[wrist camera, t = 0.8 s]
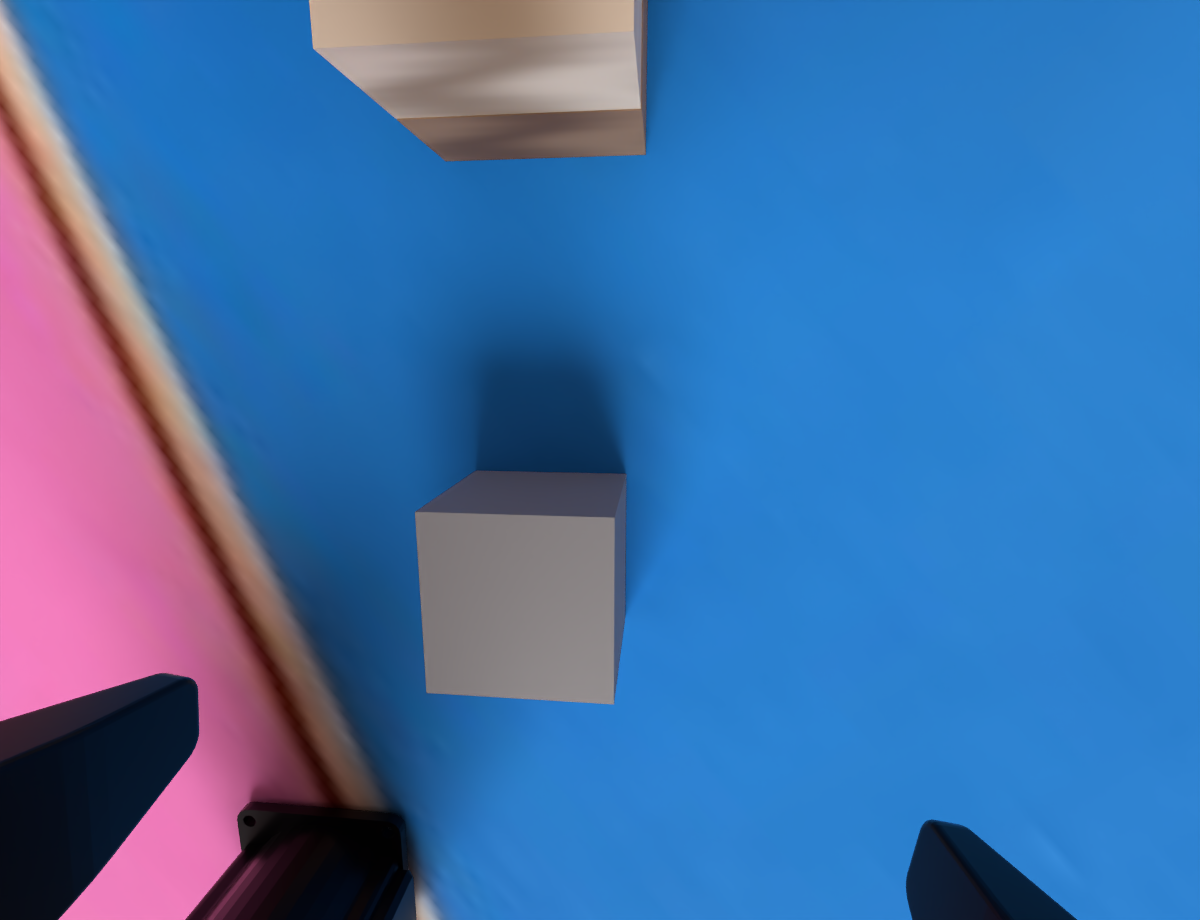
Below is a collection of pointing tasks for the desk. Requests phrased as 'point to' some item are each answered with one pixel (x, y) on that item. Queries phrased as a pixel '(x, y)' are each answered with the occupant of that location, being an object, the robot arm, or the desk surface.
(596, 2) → the tower top
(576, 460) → the desk surface
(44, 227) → the desk surface
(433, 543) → the cube
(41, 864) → the robot arm
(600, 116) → the tower bottom
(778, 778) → the desk surface
